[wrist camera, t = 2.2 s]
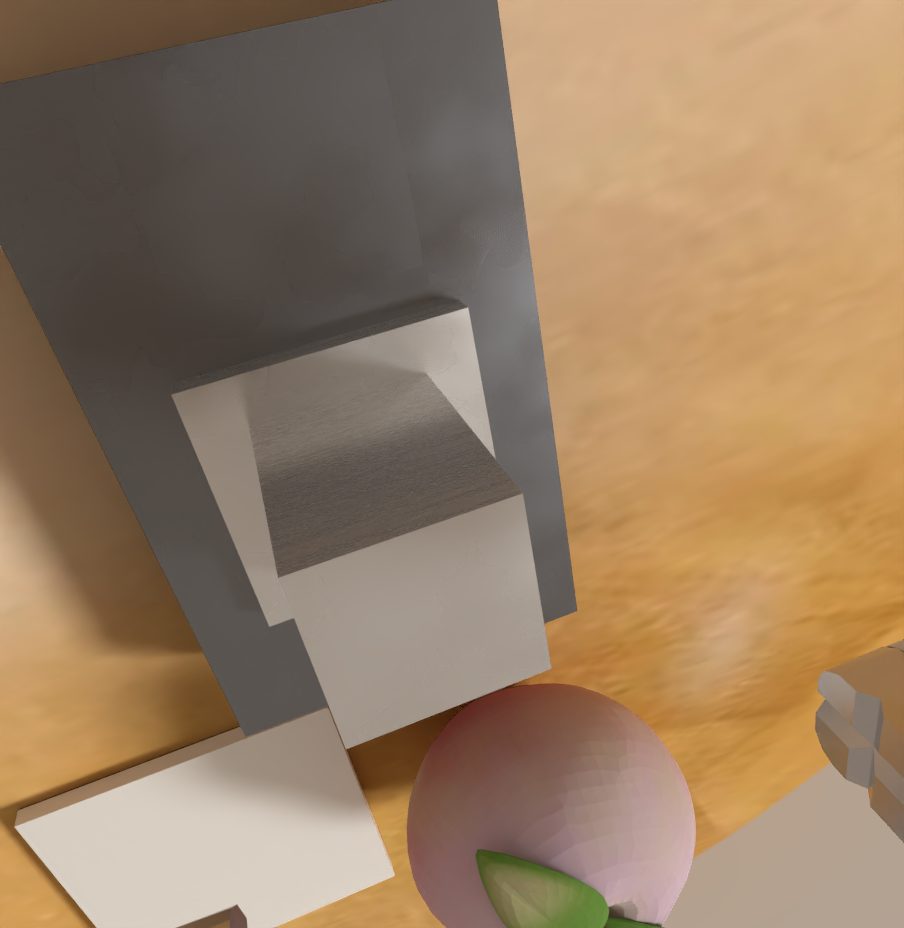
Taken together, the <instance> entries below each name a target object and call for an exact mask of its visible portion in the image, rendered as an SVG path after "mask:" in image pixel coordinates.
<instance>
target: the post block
mask: <svg viewBox="0 0 904 928" xmlns="http://www.w3.org/2000/svg"><path fill="white" fill-rule="evenodd" d="M0 244H1V246H2V248H3V250H4V252H5V254H6V256H7V258H8V260H9V262H10V264H11V266H12V268H13V270H14V272H15V274H16V276H17V278H18V280H19V282H20V284H21V286H22V288H23V290H24V292H25V294H26V296H27V298H28V300H29V302H30V304H31V306H32V308H33V310H34V313H35V315H36V317H37V319H38V321H39V323H40V325H41V327H42V329H43V331H44V333H45V335H46V337H47V339H48V341H49V343H50V345H51V347H52V349H53V351H54V353H55V355H56V357H57V359H58V361H59V363H60V365H61V367H62V369H63V371H64V373H65V375H66V377H67V379H68V381H69V383H70V385H71V387H72V389H73V391H74V393H75V395H76V397H77V399H78V401H79V403H80V405H81V407H82V409H83V411H84V413H85V415H86V417H87V419H88V421H89V423H90V425H91V427H92V429H93V431H94V433H95V435H96V437H97V439H98V441H99V443H100V445H101V447H102V449H103V451H104V453H105V455H106V457H107V459H108V461H109V463H110V465H111V467H112V469H113V471H114V474H115V476H116V478H117V480H118V482H119V484H120V486H121V488H122V490H123V492H124V494H125V496H126V498H127V500H128V502H129V504H130V506H131V508H132V510H133V512H134V514H135V516H136V518H137V520H138V522H139V524H140V526H141V528H142V530H143V532H144V534H145V536H146V538H147V540H148V542H149V544H150V546H151V548H152V550H153V552H154V554H155V556H156V558H157V560H158V562H159V564H160V566H161V568H162V570H163V572H164V574H165V576H166V578H167V580H168V582H169V584H170V586H171V588H172V590H173V592H174V594H175V596H176V598H177V600H178V602H179V604H180V606H181V608H182V610H183V612H184V614H185V616H186V618H187V620H188V622H189V624H190V626H191V628H192V630H193V632H194V635H195V637H196V639H197V641H198V643H199V645H200V647H201V649H202V651H203V653H204V655H205V657H206V659H207V661H208V663H209V665H210V667H211V669H212V671H213V673H214V675H215V677H216V679H217V681H218V683H219V685H220V687H221V689H222V691H223V693H224V695H225V697H226V699H227V701H228V703H229V705H230V707H231V709H232V711H233V713H234V715H235V717H236V719H237V721H238V723H239V725H240V727H241V729H242V731H243V733H244V735H245V737H247V736H250V735H252V734H255V733H258V732H260V731H263V730H265V729H268V728H271V727H273V726H276V725H279V724H281V723H284V722H286V721H289V720H292V719H294V718H297V717H300V716H302V715H305V714H308V713H310V712H313V711H315V710H318V709H321V708H323V707H326V706H329V705H328V703H327V700H326V698H325V695H324V693H323V690H322V688H321V685H320V682H319V680H318V677H317V675H316V672H315V670H314V667H313V665H312V662H311V660H310V657H309V655H308V652H307V650H306V647H305V645H304V642H303V640H302V637H301V635H300V632H299V629H298V627H297V624H296V622H295V619H294V618H293V619H290V620H287V621H284V622H281V623H279V624H276V625H273V626H270V627H269V625H268V622H267V620H266V618H265V615H264V613H263V611H262V608H261V606H260V603H259V601H258V599H257V596H256V594H255V592H254V589H253V587H252V585H251V582H250V580H249V577H248V575H247V573H246V570H245V568H244V566H243V563H242V561H241V559H240V556H239V554H238V551H237V549H236V547H235V544H234V542H233V540H232V537H231V535H230V533H229V530H228V528H227V525H226V523H225V521H224V518H223V516H222V514H221V511H220V509H219V507H218V504H217V502H216V499H215V497H214V495H213V492H212V490H211V488H210V485H209V483H208V480H207V478H206V476H205V473H204V471H203V469H202V466H201V464H200V462H199V459H198V457H197V454H196V452H195V450H194V447H193V445H192V443H191V440H190V438H189V436H188V433H187V431H186V428H185V426H184V424H183V421H182V419H181V417H180V414H179V412H178V410H177V407H176V405H175V402H174V400H173V398H172V395H171V384H173V383H177V382H180V381H184V380H187V379H191V378H194V377H197V376H201V375H204V374H208V373H211V372H215V371H218V370H221V369H225V368H228V367H232V366H235V365H239V364H242V363H245V362H249V361H252V360H256V359H259V358H263V357H266V356H269V355H273V354H276V353H280V352H283V351H287V350H290V349H293V348H297V347H300V346H304V345H307V344H311V343H314V342H317V341H321V340H324V339H328V338H331V337H335V336H338V335H341V334H345V333H348V332H352V331H355V330H359V329H362V328H365V327H369V326H372V325H376V324H379V323H383V322H386V321H389V320H393V319H396V318H400V317H403V316H407V315H410V314H413V313H417V312H420V311H424V310H427V309H431V308H434V307H437V306H441V305H444V304H448V303H451V302H455V301H458V300H460V301H461V302H462V303H464V304H465V305H466V306H467V307H468V309H469V314H470V320H471V325H472V331H473V337H474V342H475V348H476V353H477V359H478V364H479V370H480V375H481V381H482V386H483V392H484V397H485V403H486V408H487V414H488V419H489V425H490V430H491V436H492V441H493V447H494V452H495V458H496V460H497V462H498V463H499V464H500V465H501V467H502V468H503V469H504V470H505V472H506V473H507V474H508V475H509V477H510V478H511V479H512V480H513V482H514V483H515V484H516V485H517V487H518V488H519V489H520V490H521V492H522V493H523V497H524V503H525V509H526V515H527V522H528V528H529V534H530V540H531V546H532V552H533V558H534V564H535V571H536V577H537V583H538V589H539V595H540V601H541V607H542V613H543V619H544V623H547V622H549V621H552V620H555V619H557V618H560V617H562V616H565V615H568V614H570V613H573V612H576V611H577V606H576V598H575V590H574V583H573V575H572V567H571V560H570V552H569V545H568V537H567V529H566V522H565V514H564V506H563V499H562V491H561V483H560V476H559V468H558V461H557V453H556V445H555V438H554V430H553V422H552V415H551V407H550V400H549V392H548V384H547V377H546V369H545V361H544V354H543V346H542V338H541V331H540V323H539V316H538V308H537V300H536V293H535V285H534V277H533V270H532V262H531V254H530V247H529V239H528V232H527V224H526V216H525V209H524V201H523V193H522V186H521V178H520V170H519V163H518V155H517V148H516V140H515V132H514V125H513V117H512V109H511V102H510V94H509V87H508V79H507V71H506V64H505V56H504V48H503V41H502V33H501V25H500V18H499V10H498V3H497V0H391V1H386V2H382V3H377V4H372V5H367V6H363V7H358V8H353V9H349V10H344V11H339V12H335V13H330V14H325V15H321V16H316V17H311V18H307V19H302V20H297V21H292V22H288V23H283V24H278V25H274V26H269V27H264V28H260V29H255V30H250V31H246V32H241V33H236V34H232V35H227V36H222V37H217V38H213V39H208V40H203V41H199V42H194V43H189V44H185V45H180V46H175V47H171V48H166V49H161V50H156V51H152V52H147V53H142V54H138V55H133V56H128V57H124V58H119V59H114V60H110V61H105V62H100V63H96V64H91V65H86V66H81V67H77V68H72V69H67V70H63V71H58V72H53V73H49V74H44V75H39V76H35V77H30V78H25V79H20V80H16V81H11V82H6V83H2V84H0Z"/></svg>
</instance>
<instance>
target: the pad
mask: <svg viewBox="0 0 904 928" xmlns="http://www.w3.org/2000/svg"><path fill="white" fill-rule="evenodd" d="M14 827H15V828H16V830H17V831H18V832H19V833H20V835H21V836H22V837H23V838H24V839H25V841H26V842H27V843H28V844H29V846H30V847H31V848H32V849H33V850H34V852H35V853H36V854H37V855H38V857H39V858H40V859H41V860H42V861H43V863H44V864H45V865H46V866H47V868H48V869H49V870H50V871H51V872H52V874H53V875H54V876H55V877H56V879H57V880H58V881H59V882H60V884H61V885H62V886H63V887H64V888H65V890H66V891H67V892H68V893H69V895H70V896H71V897H72V898H73V899H74V901H75V902H76V903H77V904H78V906H79V907H80V908H81V909H82V910H83V912H84V913H85V914H86V915H87V917H88V918H89V919H90V920H91V921H92V923H93V924H94V925H95V926H96V928H176V927H179V926H181V925H184V924H187V923H189V922H192V921H195V920H197V919H200V918H202V917H205V916H208V915H210V914H213V913H215V912H218V911H221V910H223V909H226V908H229V907H231V906H234V905H236V904H237V905H238V906H239V908H240V909H241V911H242V912H243V914H244V915H245V916H246V918H247V928H274V927H277V926H279V925H281V924H284V923H286V922H288V921H291V920H293V919H295V918H298V917H300V916H302V915H305V914H307V913H309V912H312V911H314V910H316V909H319V908H321V907H323V906H326V905H328V904H330V903H333V902H335V901H337V900H340V899H342V898H344V897H347V896H349V895H351V894H354V893H356V892H358V891H361V890H363V889H365V888H368V887H370V886H372V885H375V884H377V883H379V882H382V881H384V880H386V879H389V878H391V877H393V876H395V875H394V871H393V867H392V864H391V861H390V858H389V856H388V853H387V851H386V848H385V845H384V843H383V840H382V838H381V835H380V833H379V830H378V828H377V825H376V823H375V820H374V818H373V815H372V813H371V810H370V808H369V805H368V803H367V800H366V797H365V795H364V792H363V790H362V787H361V785H360V782H359V780H358V777H357V775H356V772H355V770H354V767H353V765H352V762H351V760H350V757H349V755H348V752H347V749H346V748H345V746H344V743H343V740H342V738H341V735H340V733H339V730H338V728H337V725H336V723H335V720H334V718H333V715H332V713H331V710H330V708H329V706H326V707H323V708H321V709H318V710H315V711H313V712H310V713H308V714H305V715H302V716H300V717H297V718H294V719H292V720H289V721H286V722H284V723H281V724H279V725H276V726H273V727H271V728H268V729H265V730H263V731H260V732H258V733H255V734H252V735H250V736H247V737H245V735H244V733H243V731H242V729H241V727H238V728H235V729H233V730H230V731H227V732H225V733H222V734H219V735H217V736H214V737H211V738H209V739H206V740H203V741H201V742H198V743H195V744H193V745H190V746H187V747H185V748H182V749H180V750H177V751H174V752H172V753H169V754H166V755H164V756H161V757H158V758H156V759H153V760H150V761H148V762H145V763H142V764H140V765H137V766H135V767H132V768H129V769H127V770H124V771H121V772H119V773H116V774H113V775H111V776H108V777H105V778H103V779H100V780H97V781H95V782H92V783H89V784H87V785H84V786H82V787H79V788H76V789H74V790H71V791H68V792H66V793H63V794H60V795H58V796H55V797H52V798H50V799H47V800H44V801H42V802H39V803H37V804H34V805H31V806H29V807H26V808H23V809H21V810H18V812H17V817H16V821H15V826H14Z"/></svg>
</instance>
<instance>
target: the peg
mask: <svg viewBox="0 0 904 928" xmlns="http://www.w3.org/2000/svg"><path fill="white" fill-rule="evenodd" d="M171 395H172V398H173V400H174V402H175V405H176V407H177V410H178V412H179V414H180V417H181V419H182V421H183V424H184V426H185V428H186V431H187V433H188V436H189V438H190V440H191V443H192V445H193V447H194V450H195V452H196V454H197V457H198V459H199V462H200V464H201V466H202V469H203V471H204V473H205V476H206V478H207V480H208V483H209V485H210V488H211V490H212V492H213V495H214V497H215V499H216V502H217V504H218V507H219V509H220V511H221V514H222V516H223V518H224V521H225V523H226V525H227V528H228V530H229V533H230V535H231V537H232V540H233V542H234V544H235V547H236V549H237V551H238V554H239V556H240V559H241V561H242V563H243V566H244V568H245V570H246V573H247V575H248V577H249V580H250V582H251V585H252V587H253V589H254V592H255V594H256V596H257V599H258V601H259V603H260V606H261V608H262V611H263V613H264V615H265V618H266V620H267V622H268V625H269V627H270V626H273V625H276V624H279V623H281V622H284V621H287V620H290V619H293V618H294V619H295V622H296V624H297V627H298V629H299V632H300V635H301V637H302V640H303V642H304V645H305V647H306V650H307V652H308V655H309V657H310V660H311V662H312V665H313V667H314V670H315V672H316V675H317V677H318V680H319V682H320V685H321V688H322V690H323V693H324V695H325V698H326V700H327V703H328V705H329V708H330V710H331V713H332V715H333V718H334V720H335V723H336V725H337V728H338V730H339V733H340V735H341V738H342V740H343V743H344V746H345V748H346V749H349V748H351V747H354V746H356V745H359V744H361V743H364V742H366V741H369V740H371V739H374V738H377V737H379V736H382V735H384V734H387V733H389V732H392V731H394V730H397V729H399V728H402V727H405V726H407V725H410V724H412V723H415V722H417V721H420V720H422V719H425V718H427V717H430V716H433V715H435V714H438V713H440V712H443V711H445V710H448V709H450V708H453V707H455V706H458V705H461V704H463V703H466V702H468V701H471V700H473V699H476V698H478V697H481V696H483V695H486V694H489V693H491V692H494V691H496V690H499V689H501V688H504V687H506V686H509V685H511V684H514V683H517V682H519V681H522V680H524V679H527V678H529V677H532V676H534V675H537V674H539V673H542V672H545V671H547V670H550V669H552V668H551V662H550V656H549V650H548V644H547V638H546V632H545V626H544V619H543V613H542V607H541V601H540V595H539V589H538V583H537V577H536V571H535V564H534V558H533V552H532V546H531V540H530V534H529V528H528V522H527V515H526V509H525V503H524V497H523V493H522V492H521V490H520V489H519V488H518V487H517V485H516V484H515V483H514V482H513V480H512V479H511V478H510V477H509V475H508V474H507V473H506V472H505V470H504V469H503V468H502V467H501V465H500V464H499V463H498V462H497V460H496V458H495V452H494V447H493V441H492V436H491V430H490V425H489V419H488V414H487V408H486V403H485V397H484V392H483V386H482V381H481V375H480V370H479V364H478V359H477V353H476V348H475V342H474V337H473V331H472V325H471V320H470V314H469V309H468V307H467V306H466V305H465V304H464V303H462V302H461V301H460V300H458V301H455V302H451V303H448V304H444V305H441V306H437V307H434V308H431V309H427V310H424V311H420V312H417V313H413V314H410V315H407V316H403V317H400V318H396V319H393V320H389V321H386V322H383V323H379V324H376V325H372V326H369V327H365V328H362V329H359V330H355V331H352V332H348V333H345V334H341V335H338V336H335V337H331V338H328V339H324V340H321V341H317V342H314V343H311V344H307V345H304V346H300V347H297V348H293V349H290V350H287V351H283V352H280V353H276V354H273V355H269V356H266V357H263V358H259V359H256V360H252V361H249V362H245V363H242V364H239V365H235V366H232V367H228V368H225V369H221V370H218V371H215V372H211V373H208V374H204V375H201V376H197V377H194V378H191V379H187V380H184V381H180V382H177V383H173V384H171Z"/></svg>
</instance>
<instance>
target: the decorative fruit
mask: <svg viewBox="0 0 904 928" xmlns="http://www.w3.org/2000/svg"><path fill="white" fill-rule="evenodd" d="M695 830H696V825H695V816H694V808H693V804H692V799H691V795H690V792H689V789H688V786H687V783H686V781H685V778H684V776H683V774H682V772H681V770H680V768H679V767H678V765H677V763H676V761H675V759H674V758H673V757H672V755H671V754H670V752H669V751H668V749H667V748H666V746H665V745H664V743H663V742H662V741H661V740H660V738H659V737H658V736H657V735H656V733H655V732H654V731H653V730H652V728H651V727H650V726H649V725H647V724H646V723H645V722H644V721H643V720H642V719H641V718H640V717H639V716H638V715H636V714H635V713H633V712H632V711H631V710H629V709H628V708H626V707H625V706H623V705H621V704H620V703H618V702H616V701H614V700H612V699H610V698H608V697H606V696H604V695H602V694H600V693H597V692H594V691H591V690H588V689H585V688H582V687H578V686H573V685H566V684H535V685H524V686H518V687H512V688H507V689H503V690H500V691H497V692H493V693H490V694H488V695H486V696H483V697H481V698H479V699H477V700H475V701H473V702H472V703H470V704H469V705H467V706H466V707H465V708H463V709H462V710H461V711H460V712H458V713H457V714H456V715H455V716H454V717H453V718H452V719H451V720H450V721H449V723H448V724H447V725H446V726H445V727H444V729H443V730H442V731H441V732H440V734H439V735H438V736H437V738H436V739H435V740H434V742H433V743H432V745H431V746H430V748H429V750H428V751H427V753H426V755H425V757H424V759H423V761H422V763H421V766H420V768H419V771H418V773H417V776H416V778H415V782H414V786H413V790H412V793H411V797H410V802H409V809H408V818H407V843H408V855H409V859H410V864H411V869H412V874H413V878H414V880H415V883H416V886H417V889H418V891H419V892H420V894H421V896H422V897H423V899H424V901H425V902H426V904H427V906H428V907H429V909H430V911H431V912H432V913H433V914H434V916H435V917H436V918H437V919H438V920H439V921H440V922H441V923H442V924H443V925H444V926H446V927H447V928H662V927H661V926H662V925H663V923H664V922H665V920H666V919H667V917H668V915H669V913H670V911H671V909H672V907H673V906H674V904H675V902H676V900H677V898H678V896H679V894H680V892H681V890H682V888H683V886H684V884H685V882H686V879H687V877H688V874H689V870H690V867H691V863H692V860H693V854H694V848H695Z"/></svg>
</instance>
